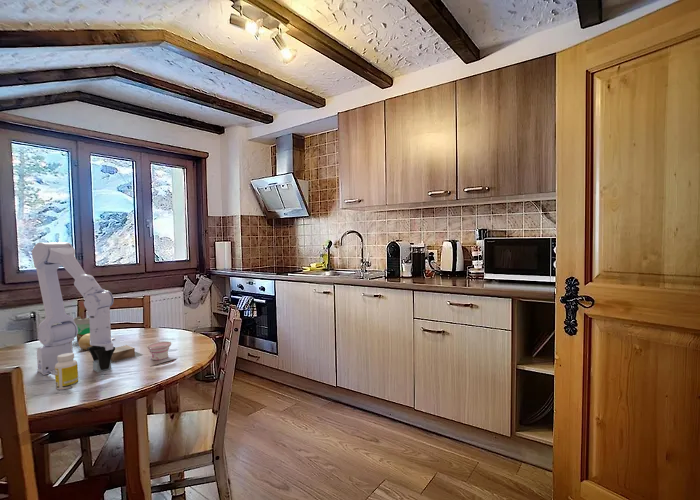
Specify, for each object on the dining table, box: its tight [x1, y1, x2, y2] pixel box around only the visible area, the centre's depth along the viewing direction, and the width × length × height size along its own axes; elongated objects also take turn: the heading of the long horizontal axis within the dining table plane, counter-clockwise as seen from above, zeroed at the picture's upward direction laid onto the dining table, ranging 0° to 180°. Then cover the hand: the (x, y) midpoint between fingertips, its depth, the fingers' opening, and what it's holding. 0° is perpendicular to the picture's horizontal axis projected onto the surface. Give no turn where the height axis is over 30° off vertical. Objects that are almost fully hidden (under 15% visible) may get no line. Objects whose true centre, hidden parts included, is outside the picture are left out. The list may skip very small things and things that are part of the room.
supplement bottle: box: [54, 352, 79, 391], centre depth 109 cm, size 5×5×10 cm
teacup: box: [146, 340, 178, 367], centre depth 132 cm, size 12×12×6 cm
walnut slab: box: [111, 344, 136, 361], centre depth 134 cm, size 7×7×3 cm
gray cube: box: [92, 360, 112, 373], centre depth 121 cm, size 4×4×4 cm
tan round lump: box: [77, 333, 92, 351], centre depth 149 cm, size 8×8×7 cm
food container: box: [73, 316, 90, 342], centre depth 162 cm, size 12×6×10 cm, turn 73°
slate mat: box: [111, 351, 144, 364], centre depth 134 cm, size 12×10×1 cm
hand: (102, 367), depth 121 cm, fingers closed on gray cube, 4 cm apart
